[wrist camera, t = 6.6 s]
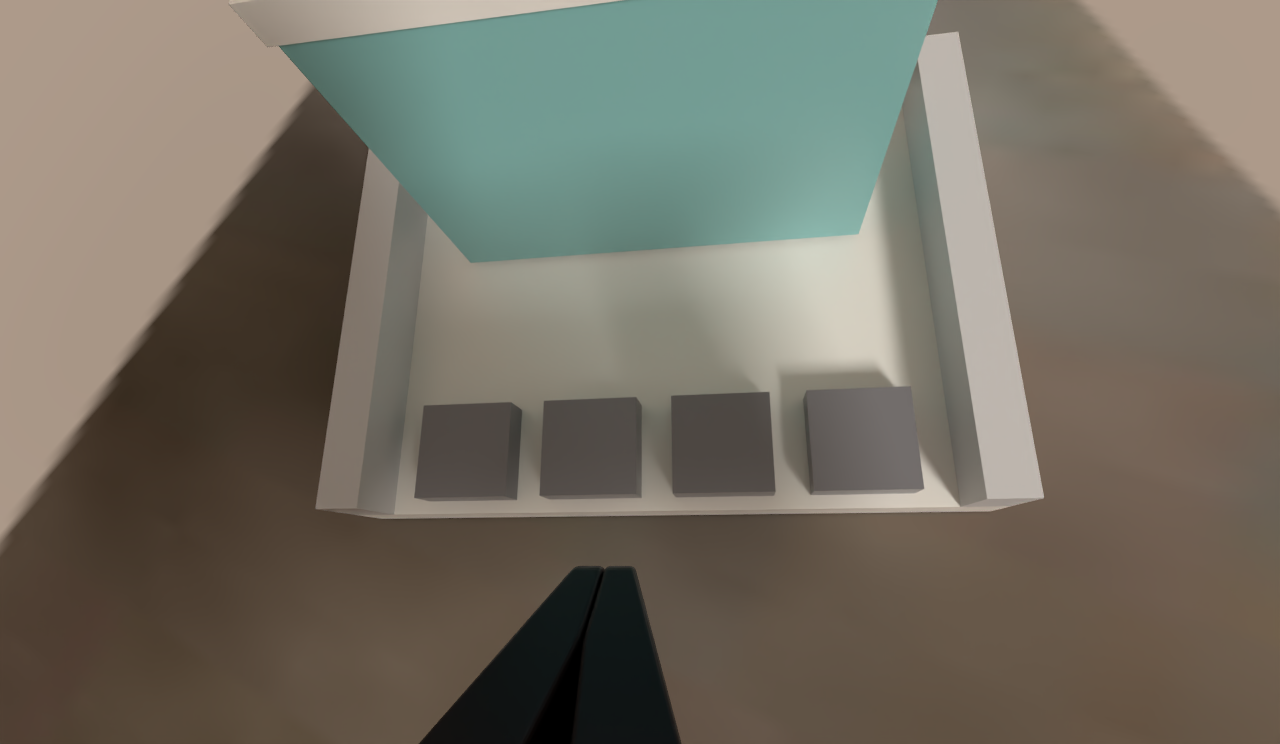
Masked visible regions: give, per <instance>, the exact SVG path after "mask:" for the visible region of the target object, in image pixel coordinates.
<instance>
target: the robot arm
mask: <svg viewBox="0 0 1280 744" xmlns="http://www.w3.org/2000/svg"><path fill="white" fill-rule="evenodd" d="M419 744H681V740H680V736H679V733H678V729H677V725H676V721H675V717H674V714H673V710H672V706H671V702H670V698H669V695H668V691H667V687H666V683H665V679H664V676H663V672H662V668H661V664H660V660H659V657H658V653H657V649H656V645H655V641H654V638H653V634H652V630H651V626H650V622H649V618H648V615H647V611H646V607H645V603H644V599H643V596H642V592H641V588H640V584H639V580H638V577H637V573H636V570H635V568H634V567H632V566H609V567H607V568H606V569H604V568H603V567H601V566H578V567H575V568H574V569H572V570H571V571H570V572H569V574H568V575H567V576H566V577H565V578H564V579H563V580H562V582H561V583H560V584H559V585H558V586H557V587H556V588H555V590H554V591H553V592H552V593H551V594H550V595H549V596H548V598H547V599H546V600H545V601H544V602H543V603H542V604H541V605H540V607H539V608H538V609H537V610H536V611H535V612H534V613H533V615H532V616H531V617H530V618H529V619H528V620H527V621H526V623H525V624H524V625H523V626H522V627H521V628H520V629H519V630H518V632H517V633H516V634H515V635H514V636H513V637H512V638H511V640H510V641H509V642H508V643H507V644H506V645H505V646H504V648H503V649H502V650H501V651H500V652H499V653H498V654H497V655H496V657H495V658H494V659H493V660H492V661H491V662H490V663H489V665H488V666H487V667H486V668H485V669H484V670H483V671H482V673H481V674H480V675H479V676H478V677H477V678H476V679H475V680H474V682H473V683H472V684H471V685H470V686H469V687H468V688H467V690H466V691H465V692H464V693H463V694H462V695H461V696H460V698H459V699H458V700H457V701H456V702H455V703H454V704H453V705H452V707H451V708H450V709H449V710H448V711H447V712H446V713H445V715H444V716H443V717H442V718H441V719H440V720H439V721H438V723H437V724H436V725H435V726H434V727H433V728H432V729H431V731H430V732H429V733H428V734H427V735H426V736H425V737H424V738H423V740H422V741H421V742H420V743H419Z"/></svg>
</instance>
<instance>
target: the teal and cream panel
mask: <svg viewBox="0 0 1280 744" xmlns="http://www.w3.org/2000/svg"><path fill="white" fill-rule="evenodd" d="M937 1H938V0H229V5H230V6H231V8H232V9H233V10H234V11H235V12H236V13H237V14H238V15H239V16H240V18H241V19H242V20H243V21H244V22H245V23H246V24H247V25H248V26H249V27H250V29H251V30H252V31H253V32H254V33H255V34H256V35H257V36H258V37H259V38H260V40H262V42H263V43H264V44H265V45H266V46H267V47H273V46H279V47H280V48H281V49H282V50H283V52H284V53H285V54H286V55H287V56H288V57H289V58H290V60H291V61H292V62H293V63H294V64H295V65H296V66H297V67H298V69H299V70H300V71H301V72H302V73H303V74H304V75H305V76H306V78H307V79H308V80H309V81H310V82H311V83H312V84H313V85H314V87H315V88H316V89H317V90H318V91H319V92H320V93H321V95H322V96H323V97H324V98H325V99H326V100H327V101H328V102H329V104H330V105H331V106H332V107H333V108H334V109H335V110H336V111H337V113H338V114H339V115H340V116H341V117H342V118H343V119H344V120H345V122H346V123H347V124H348V125H349V126H350V127H351V128H352V129H353V131H354V132H355V133H356V134H357V135H358V136H359V137H360V139H361V140H362V141H363V142H364V143H365V144H366V145H367V146H368V148H369V149H370V150H371V151H372V152H373V153H374V154H375V155H376V157H377V158H378V159H379V160H380V161H381V162H382V163H383V164H384V166H385V167H386V168H387V169H388V170H389V171H390V172H391V174H392V175H393V176H394V177H395V178H396V179H397V180H398V181H399V183H400V184H401V185H402V186H403V187H404V188H405V189H406V190H407V192H408V193H409V194H410V195H411V196H412V197H413V198H414V199H415V201H416V202H417V203H418V204H419V205H420V206H421V207H422V209H423V210H424V211H425V212H426V213H427V214H428V215H429V216H430V218H431V219H432V220H433V221H434V222H435V223H436V224H437V225H438V227H439V228H440V229H441V230H442V231H443V232H444V233H445V234H446V236H447V237H448V238H449V239H450V240H451V241H452V242H453V244H454V245H455V246H456V247H457V248H458V249H459V250H460V251H461V253H462V254H463V255H464V256H465V257H466V258H467V259H468V260H469V262H470V263H476V262H489V261H503V260H516V259H530V258H543V257H557V256H571V255H584V254H598V253H611V252H625V251H638V250H652V249H665V248H679V247H693V246H706V245H720V244H733V243H747V242H760V241H774V240H787V239H801V238H815V237H828V236H842V235H855V234H859V231H860V228H861V225H862V222H863V219H864V216H865V213H866V210H867V208H868V205H869V202H870V199H871V196H872V193H873V190H874V187H875V184H876V181H877V178H878V175H879V172H880V169H881V166H882V163H883V160H884V157H885V154H886V151H887V148H888V146H889V143H890V140H891V137H892V134H893V131H894V128H895V125H896V122H897V119H898V116H899V113H900V110H901V107H902V104H903V101H904V98H905V95H906V92H907V89H908V86H909V83H910V81H911V78H912V75H913V72H914V69H915V66H916V63H917V60H918V57H919V54H920V51H921V48H922V45H923V42H924V39H925V36H926V33H927V30H928V27H929V24H930V21H931V19H932V16H933V13H934V10H935V7H936V4H937Z"/></svg>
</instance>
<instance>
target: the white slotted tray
mask: <svg viewBox="0 0 1280 744" xmlns="http://www.w3.org/2000/svg"><path fill="white" fill-rule="evenodd" d="M1042 498H1044V495H1043V490H1042V484H1041V479H1040V473H1039V468H1038V462H1037V457H1036V452H1035V446H1034V441H1033V435H1032V430H1031V425H1030V419H1029V414H1028V408H1027V403H1026V397H1025V392H1024V387H1023V381H1022V376H1021V370H1020V365H1019V359H1018V354H1017V349H1016V343H1015V338H1014V332H1013V327H1012V321H1011V316H1010V311H1009V305H1008V300H1007V294H1006V289H1005V283H1004V278H1003V273H1002V267H1001V262H1000V256H999V251H998V245H997V240H996V235H995V229H994V224H993V218H992V213H991V207H990V202H989V197H988V191H987V186H986V180H985V175H984V170H983V164H982V159H981V153H980V148H979V142H978V137H977V132H976V126H975V121H974V115H973V110H972V104H971V99H970V94H969V88H968V83H967V77H966V72H965V66H964V61H963V56H962V50H961V45H960V39H959V34H958V32H953V33H944V34H936V35H927V36H925V39H924V42H923V45H922V48H921V51H920V54H919V57H918V60H917V63H916V66H915V69H914V72H913V75H912V78H911V81H910V83H909V86H908V89H907V92H906V95H905V98H904V101H903V104H902V107H901V110H900V113H899V116H898V119H897V122H896V125H895V128H894V131H893V134H892V137H891V140H890V143H889V146H888V148H887V151H886V154H885V157H884V160H883V163H882V166H881V169H880V172H879V175H878V178H877V181H876V184H875V187H874V190H873V193H872V196H871V199H870V202H869V205H868V208H867V210H866V213H865V216H864V219H863V222H862V225H861V228H860V231H859V234H855V235H842V236H828V237H815V238H801V239H787V240H774V241H760V242H747V243H733V244H720V245H706V246H693V247H679V248H665V249H652V250H638V251H625V252H611V253H598V254H584V255H571V256H557V257H543V258H530V259H516V260H503V261H489V262H476V263H470V262H469V260H468V259H467V258H466V257H465V256H464V255H463V254H462V253H461V251H460V250H459V249H458V248H457V247H456V246H455V245H454V244H453V242H452V241H451V240H450V239H449V238H448V237H447V236H446V234H445V233H444V232H443V231H442V230H441V229H440V228H439V227H438V225H437V224H436V223H435V222H434V221H433V220H432V219H431V218H430V216H429V215H428V214H427V213H426V212H425V211H424V210H423V209H422V207H421V206H420V205H419V204H418V203H417V202H416V201H415V199H414V198H413V197H412V196H411V195H410V194H409V193H408V192H407V190H406V189H405V188H404V187H403V186H402V185H401V184H400V183H399V181H398V180H397V179H396V178H395V177H394V176H393V175H392V174H391V172H390V171H389V170H388V169H387V168H386V167H385V166H384V164H383V163H382V162H381V161H380V160H379V159H378V158H377V157H376V155H375V154H374V153H373V152H372V151H371V150H370V149H369V150H368V157H367V163H366V170H365V177H364V184H363V190H362V197H361V204H360V211H359V217H358V224H357V231H356V238H355V244H354V251H353V258H352V265H351V271H350V278H349V285H348V292H347V298H346V305H345V312H344V319H343V325H342V332H341V339H340V346H339V352H338V359H337V366H336V373H335V379H334V386H333V393H332V400H331V406H330V413H329V420H328V427H327V433H326V440H325V447H324V454H323V460H322V467H321V474H320V480H319V487H318V494H317V501H316V507H315V509H319V510H325V511H332V512H339V513H346V514H353V515H360V516H366V517H373V518H380V519H407V518H488V517H568V516H649V515H729V514H810V513H890V512H971V511H993V510H997V509H1001V508H1005V507H1010V506H1014V505H1018V504H1022V503H1026V502H1030V501H1034V500H1038V499H1042Z"/></svg>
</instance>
